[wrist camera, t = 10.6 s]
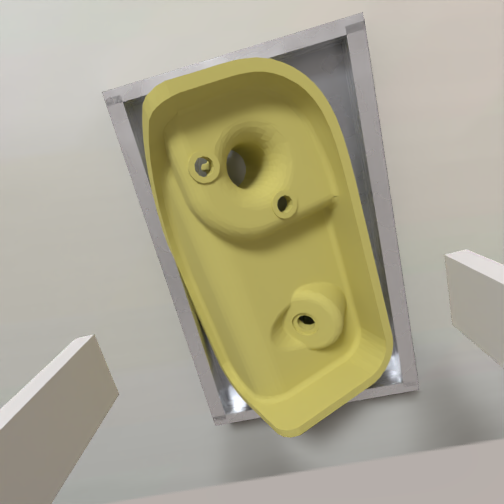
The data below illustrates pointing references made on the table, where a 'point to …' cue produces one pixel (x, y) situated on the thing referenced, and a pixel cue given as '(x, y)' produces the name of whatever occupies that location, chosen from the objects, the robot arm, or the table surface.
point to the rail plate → (366, 175)
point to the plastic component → (269, 237)
